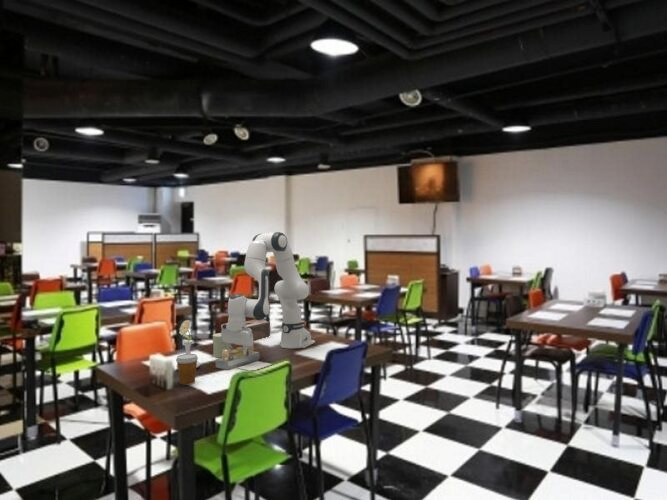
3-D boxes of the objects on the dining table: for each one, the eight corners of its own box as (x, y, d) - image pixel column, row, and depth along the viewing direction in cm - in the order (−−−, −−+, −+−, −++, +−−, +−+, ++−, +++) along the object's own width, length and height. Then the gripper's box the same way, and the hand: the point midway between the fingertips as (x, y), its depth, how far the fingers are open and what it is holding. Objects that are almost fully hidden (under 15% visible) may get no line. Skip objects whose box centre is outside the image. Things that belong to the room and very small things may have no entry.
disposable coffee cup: (179, 379, 214) (178, 353, 214) (200, 378, 215) (199, 353, 215) (174, 386, 205) (173, 359, 204) (196, 385, 206) (195, 358, 205)
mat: (257, 362, 242) (257, 361, 242) (271, 365, 236) (271, 363, 236) (237, 368, 230) (237, 367, 230) (252, 372, 224) (252, 370, 224)
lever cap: (240, 353, 244) (240, 346, 244) (247, 354, 241) (246, 347, 241) (228, 356, 238) (228, 349, 238) (235, 358, 235) (235, 350, 235)
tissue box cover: (239, 345, 281) (239, 328, 281) (224, 342, 290) (223, 326, 290) (270, 337, 302) (269, 321, 301) (254, 334, 310) (254, 319, 310)
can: (226, 357, 251) (225, 335, 251) (210, 357, 253) (209, 335, 253) (233, 353, 260) (232, 332, 260) (217, 352, 262) (217, 331, 262)
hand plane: (247, 357, 251) (246, 339, 251) (259, 359, 246) (259, 341, 246) (215, 367, 233) (215, 347, 233) (228, 370, 228) (227, 350, 228)
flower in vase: (175, 367, 235) (174, 317, 234) (198, 364, 239) (197, 316, 239) (177, 374, 223) (176, 322, 222) (202, 371, 227) (201, 320, 227)
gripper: (256, 327, 236) (256, 354, 236) (228, 323, 247) (228, 348, 248) (247, 329, 231) (247, 356, 231) (218, 324, 242) (219, 351, 243)
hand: (237, 352), depth 239 cm, fingers open, 8 cm apart
